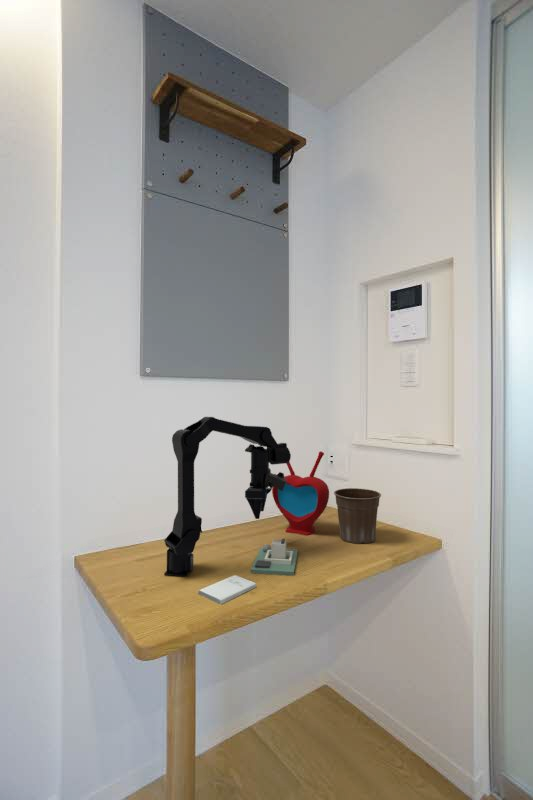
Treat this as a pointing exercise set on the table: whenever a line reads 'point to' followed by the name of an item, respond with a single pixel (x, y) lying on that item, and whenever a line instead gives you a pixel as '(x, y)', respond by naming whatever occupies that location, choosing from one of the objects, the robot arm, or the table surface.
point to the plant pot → (357, 514)
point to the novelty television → (302, 500)
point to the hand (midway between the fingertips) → (259, 514)
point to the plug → (278, 549)
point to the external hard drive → (227, 589)
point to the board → (274, 562)
